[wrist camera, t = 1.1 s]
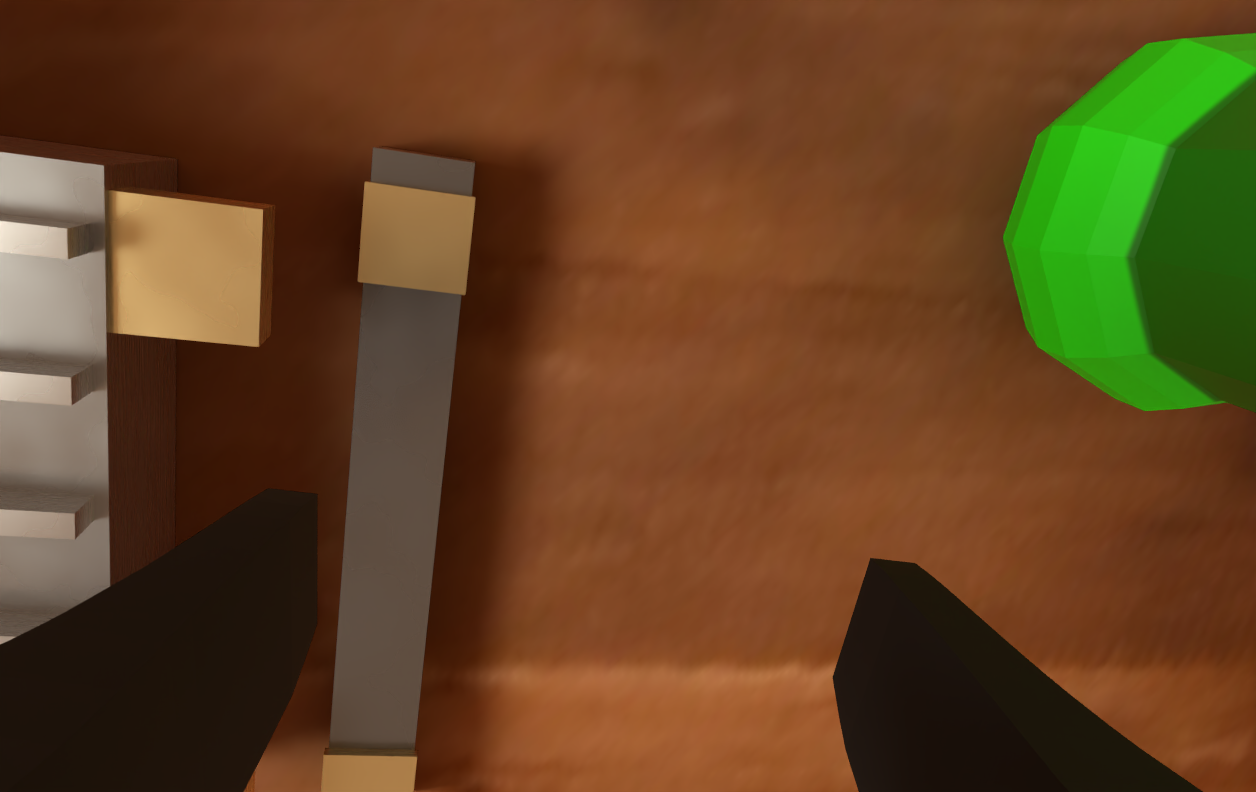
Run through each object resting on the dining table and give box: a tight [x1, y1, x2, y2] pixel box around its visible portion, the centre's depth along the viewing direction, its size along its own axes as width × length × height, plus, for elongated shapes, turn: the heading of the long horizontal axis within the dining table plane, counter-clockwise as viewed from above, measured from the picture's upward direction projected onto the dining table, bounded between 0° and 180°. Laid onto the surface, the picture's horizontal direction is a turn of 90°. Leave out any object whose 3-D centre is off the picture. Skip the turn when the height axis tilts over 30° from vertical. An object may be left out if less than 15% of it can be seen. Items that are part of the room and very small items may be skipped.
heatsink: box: [0, 135, 275, 792], centre depth 21 cm, size 18×10×6 cm, turn 172°
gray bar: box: [321, 146, 476, 792], centre depth 25 cm, size 20×3×3 cm, turn 171°
